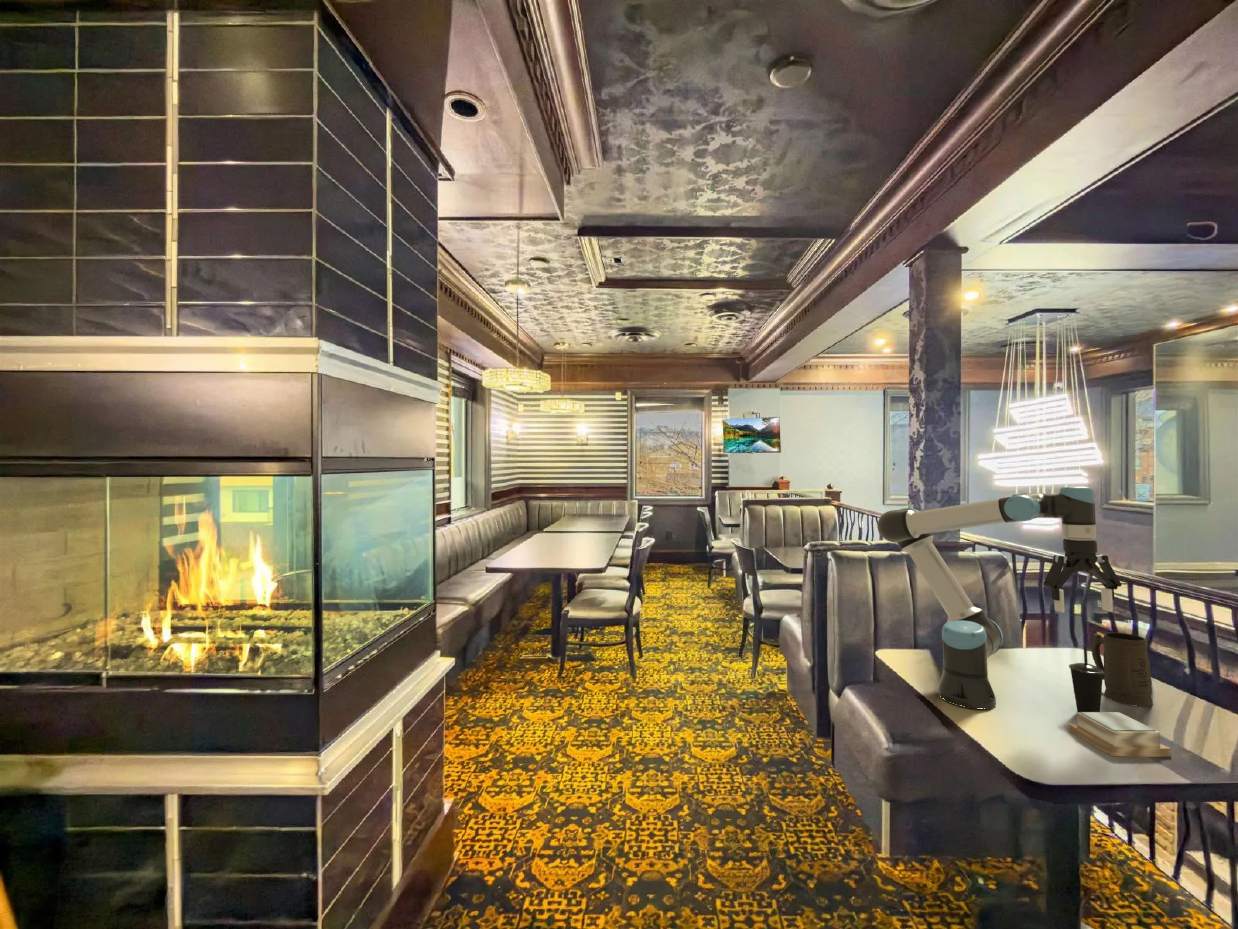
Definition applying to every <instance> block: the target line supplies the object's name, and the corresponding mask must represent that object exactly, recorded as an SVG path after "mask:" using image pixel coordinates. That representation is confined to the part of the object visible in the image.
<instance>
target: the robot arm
mask: <svg viewBox="0 0 1238 929" xmlns="http://www.w3.org/2000/svg"><path fill="white" fill-rule="evenodd" d="M1038 518H1041V519H1043V518H1047V519H1052V518H1053V519H1061V529H1062V530H1061V531H1062V532H1061V533H1062V534H1061V535H1062V537H1063V540H1062V546H1063V547H1062V548H1063V551H1064V553H1065V554H1064V556H1063V555H1057V554H1054V555H1053V557H1052V563H1051V566H1050V569H1049V570H1048V573H1047V575H1046V577H1045V579H1044V582H1043V586H1044V587H1047V588H1049V589H1050V591H1051V594H1050V595H1051V599H1052V601H1053V606H1054V608H1053V609H1054V611H1055V612H1059V613H1062V614H1063V613H1065V611H1066V609H1065V596H1064V595H1065V594H1064V589H1061V588H1062V587H1063V586H1064V585H1065V583H1067V581H1068V580H1069V579H1070V578H1071V576H1072V575H1073V574H1074V573H1077V572H1082V571H1083V572H1084V571H1087V572H1090V573H1091V575H1093V576H1094V577H1095V579H1097V581H1098V582H1099V583H1100V584H1101V585H1102V586H1103V587H1100V592H1101V593H1100V594H1101V610H1102V611H1106V612H1109V613H1113V612H1114V607H1113V606H1114V604H1113V602H1114V600H1115V590H1118V588H1119V587H1122V583H1121V581H1120V579H1119V577H1118V576H1117V573H1116V572H1115V571H1114V569H1113V567H1112V564H1110V560H1109V556H1108V555H1106V554H1100V553H1098V554H1096V553H1097V552H1098V541H1097V540H1096V538H1097V537H1098V536H1097V522H1096V501H1095V495H1094V490H1093V488H1091V487H1090V486H1062V487H1060V489H1059V491H1058V492H1057V493H1055V492H1054V493H1042V492H1041V493H1039V492H1038V493H1037V492H1036V493H1035V492H1034V493H1033V492H1032V493H1030V492H1029V493H1028V492H1021V493H1014V494H1012V495H1011V496H1008V497H1007V496H1006V497H1001V498H994V499H988V500H981V501H974V502H971V503H970V502H969V503H964V504H958V505H951V506H944V507H938V508H933V509H927V510H920V511H919V510H917V509H915V508H909V507H908V508H905V507H904V508H900V509H892V510H889V511H886V512H884V513H883V514H881V515H880V517H879V518H878V521H877V527H876V528H877V531H878V533H879V535H880V536H881V537H882V538H883V539H884V540H886V541H887V542H890V543H897V545H898V547H899V548H900V550H901V551H902V552H905V553H907V554H908V555H909V556H910V558H911V559H912V561H913V563H914V564H915V566H916V567H917V569H918V570H919V572H920V573H921V575H922V577H923V578H924V580H925V582H926V583H927V585H928V586H929V587H930V590H931V591H932V593H933V594H934V595H935V597H936V599H937V600H938V602H939V603H940V606H941V607H942V608H943V610H944V612H945V613H946V614H947V620H946V622H945V623H944V624H943V625H942V629H941V639H942V642H941V643H942V661H943V662H942V663H943V664H942V665H943V673H942V675H941V678H940V681H939V684H938V686H937V687H938V688H937V690H938V694H939V695H940V696H941V698H944V699H945V700H946V701H948V702H951V703H954V704H957V705H962V706H965V707H969V708H983V709H984V708H985V710H987V709H986V708H992V709H994V708H995V707H996V706H997V697H996V695H995V692H994V690H993V687H992V685H991V683H990V680H989V674H988V658H989V657H991V656H992V655H994V654H996V653H998V651H999V650H1000V648H1001V646H1002V645H1003V642H1004V636H1003V632H1002V629H1001V627H1000V626H999V625H998V624H997V623H996V622H995V621H994V620H992V619H990V618H988V616H987V615H986V613H985V612H984V610H983V608H979V607H978V606H977V607H976V606H974V603H973V602H972V601H971V599H970V598H969V596H968V595H967V594H966V591H965V590H964V589H963V587H962V586H961V584H960V583H959V581H958V580H957V578H956V576H955V575H954V573H953V572H952V570H951V569H950V567H949V566H948V565H947V563H946V561H945V559H944V558H943V557H942V555H941V554H940V553H939V551H938V549H937V548H936V546H935V545H934V543H933V540H934V535H933V534H934V533H938V532H939V533H940V532H942V533H943V532H946V531H947V532H948V531H954V530H963V529H970V528H975V527H976V528H978V527H986V526H992V525H999V524H1006V523H1016V522H1017V523H1018V522H1027V521H1032V520H1034V519H1038ZM1096 563H1098V565H1097V564H1096ZM939 695H938V696H939ZM941 698H940V699H941ZM946 701H945V702H946ZM948 702H947V703H948ZM951 703H950V704H951ZM995 705H996V706H995ZM993 707H994V708H993ZM969 708H968V709H969Z"/></svg>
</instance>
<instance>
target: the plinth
mask: <svg viewBox="0 0 1238 929" xmlns="http://www.w3.org/2000/svg"><path fill="white" fill-rule="evenodd" d="M1076 718H1077V723H1068V728H1069V729H1068V730H1069V732H1070V733H1072V734H1073V733H1074V735H1075V736H1077V737H1078V736H1079V738H1080V739H1082V740H1084V741H1086V742H1087V743H1089V744H1090V745H1092V746H1094V747H1095V748H1097V749H1099V750H1101V751H1102V752H1104V753H1106V754H1107V753H1108V755H1109V756H1110V757H1112V756H1126V757H1127V756H1129V758H1130V757H1131V756H1132V758H1135V757H1136V758H1137V757H1138V758H1139V757H1142V758H1146V757H1149V758H1151V757H1153V758H1154V757H1155V758H1160V757H1164V758H1165V757H1166V758H1167V757H1168V758H1170V757H1171V758H1172V748H1171V747H1169V746H1167V745H1164V744H1162V743H1161V735H1160V734H1161V733H1160V731H1158V730H1156V729H1154V728H1152V727H1150V726H1148V725H1146V724H1144V723H1142V722H1140V721H1138V720H1136V719H1133V718H1131V717H1129V716H1128V715H1125V714H1123V713H1121V712H1119V711H1115V712H1113V711H1112V712H1111V711H1108V712H1107V711H1106V712H1105V711H1100V712H1081V713H1077V712H1076ZM1126 757H1125V758H1126Z"/></svg>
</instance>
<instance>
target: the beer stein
mask: <svg viewBox="0 0 1238 929" xmlns="http://www.w3.org/2000/svg"><path fill="white" fill-rule="evenodd" d="M1101 645H1103V647H1104V648H1103V658H1102V655H1101ZM1148 647H1149V645H1148V641H1147V639H1146V638H1144V637H1143V636H1140V635H1135V634H1131V633H1124V632H1105V633H1104V634H1103V636H1102V634H1100V633H1093V641H1092V644H1091V649H1090V650H1091V656H1092V660H1093V662H1094V664H1095V665H1094V666H1096V667H1098V668H1100V669H1102V670H1104V674H1103V680H1102V681H1103V682H1104V687H1105V689H1104V696H1105V697H1106V698H1107V699H1109V698H1110V699H1109V700H1111V699H1112V700H1111V701H1113V700H1114V702H1115V703H1116V702H1117V703H1119V702H1121V703H1120V704H1123V703H1124V704H1123V705H1127V704H1128V706H1132V705H1137V706H1136V707H1140V706H1148V707H1151V706H1153V704H1154V702H1153V698H1152V694H1153V692H1152V691H1153V690H1152V689H1153V686H1152V684H1153V682H1152V674H1151V664H1150V659H1149V653H1148ZM1102 659H1103V660H1102Z"/></svg>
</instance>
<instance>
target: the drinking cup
mask: <svg viewBox="0 0 1238 929" xmlns="http://www.w3.org/2000/svg"><path fill="white" fill-rule="evenodd" d="M1087 650H1088V648H1087V645H1083V660H1084V661H1083V662H1076V663H1070V664H1069V665H1068V668H1069V669H1070V674H1071V680H1072V686H1073V694H1074V701H1075V706H1076V714H1077V713H1081V712H1101V709H1102V708H1101V707H1102V706H1101V703H1102V692H1103V681H1104V680H1103V674H1104V670H1102V669H1100V668H1098V667H1096V665H1093V664H1091V663H1089V662H1088V651H1087Z"/></svg>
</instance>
